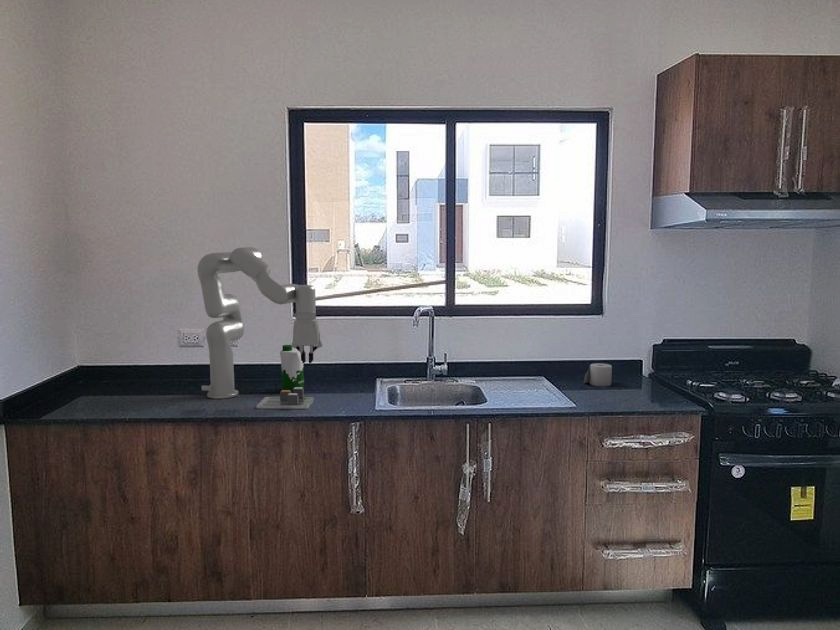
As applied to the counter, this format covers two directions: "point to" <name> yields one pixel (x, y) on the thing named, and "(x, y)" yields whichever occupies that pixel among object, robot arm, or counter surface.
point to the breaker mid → (284, 395)
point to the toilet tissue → (599, 374)
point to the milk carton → (291, 368)
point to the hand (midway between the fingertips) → (307, 362)
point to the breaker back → (299, 391)
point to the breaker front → (292, 399)
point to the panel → (284, 403)
